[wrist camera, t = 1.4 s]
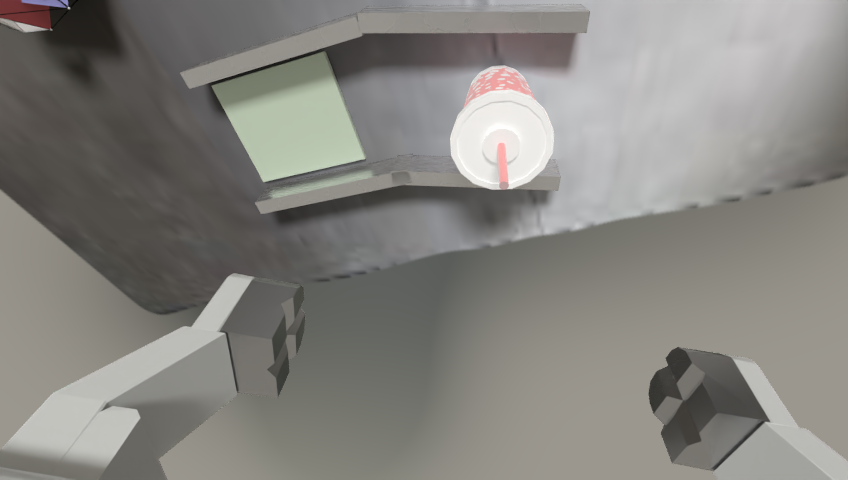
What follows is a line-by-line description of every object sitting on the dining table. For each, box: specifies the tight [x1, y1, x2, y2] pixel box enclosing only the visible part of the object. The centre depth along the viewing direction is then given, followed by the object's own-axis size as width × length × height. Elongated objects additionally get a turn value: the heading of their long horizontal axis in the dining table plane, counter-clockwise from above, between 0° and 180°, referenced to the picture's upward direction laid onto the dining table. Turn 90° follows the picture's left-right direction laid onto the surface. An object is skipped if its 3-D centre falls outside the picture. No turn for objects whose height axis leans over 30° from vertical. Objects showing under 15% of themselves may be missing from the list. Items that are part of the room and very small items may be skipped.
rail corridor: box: [180, 4, 590, 214], centre depth 34 cm, size 28×16×3 cm, turn 91°
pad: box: [211, 51, 366, 182], centre depth 36 cm, size 10×9×1 cm
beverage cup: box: [450, 65, 554, 190], centre depth 28 cm, size 6×6×14 cm
